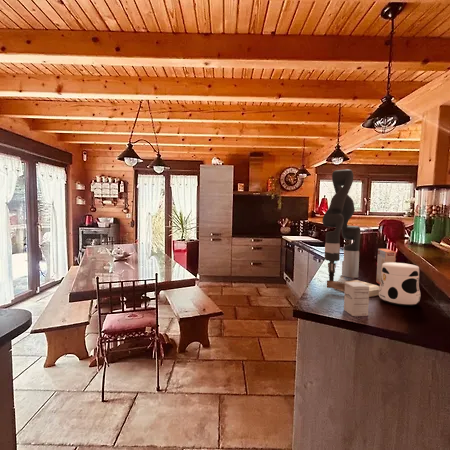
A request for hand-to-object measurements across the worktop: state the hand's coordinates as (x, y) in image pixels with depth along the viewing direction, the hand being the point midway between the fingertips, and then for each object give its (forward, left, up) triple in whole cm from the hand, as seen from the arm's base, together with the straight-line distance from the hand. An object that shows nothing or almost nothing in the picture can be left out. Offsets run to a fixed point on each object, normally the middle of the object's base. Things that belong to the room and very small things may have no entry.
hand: (331, 283), depth 161 cm
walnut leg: (+7, +1, -1) cm, 7 cm away
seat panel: (+5, +15, -5) cm, 17 cm away
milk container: (+27, +16, -5) cm, 32 cm away
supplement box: (+29, -15, -5) cm, 33 cm away
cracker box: (+3, +39, -5) cm, 40 cm away
